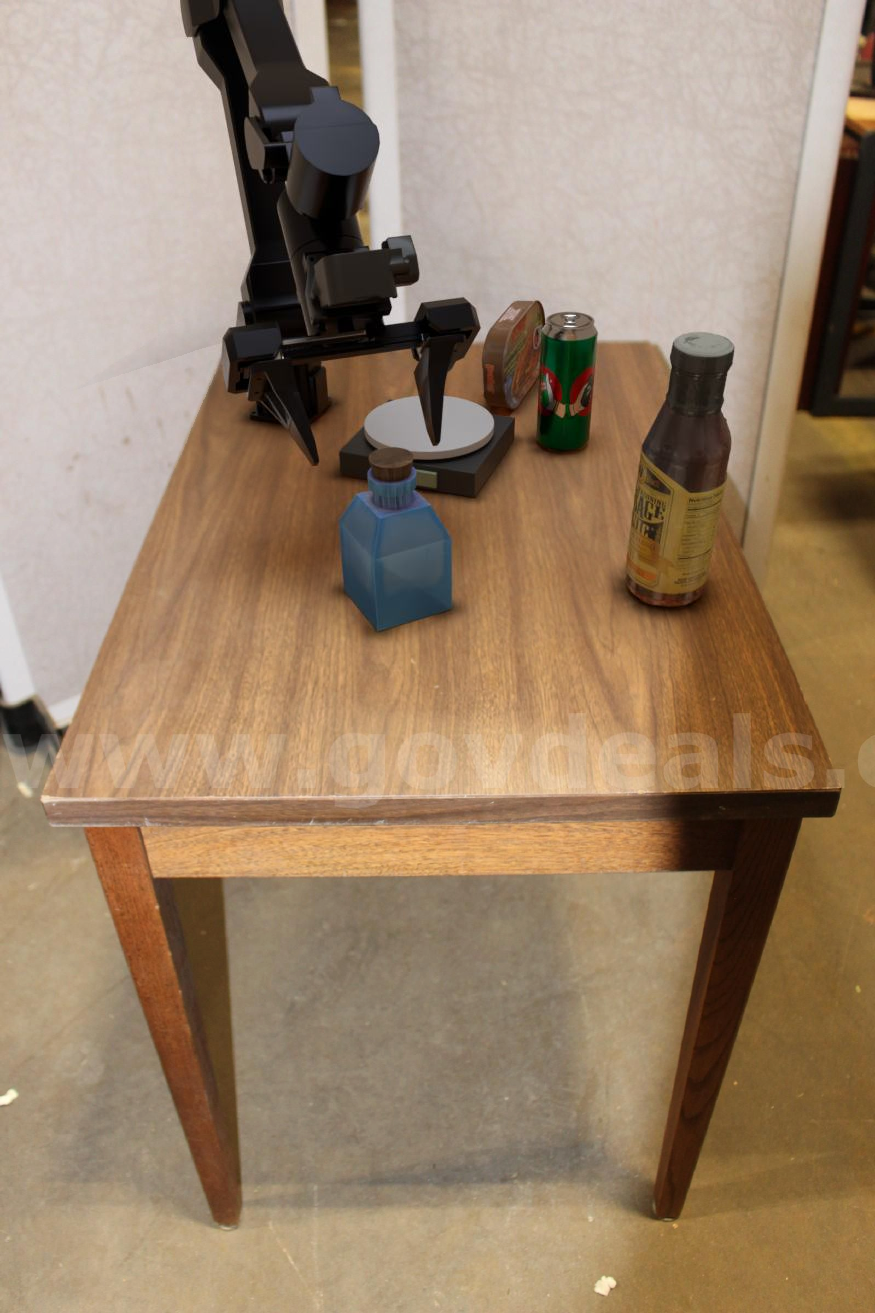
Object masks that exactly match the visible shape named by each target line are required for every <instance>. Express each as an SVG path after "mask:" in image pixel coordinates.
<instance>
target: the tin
mask: <svg viewBox="0 0 875 1313" xmlns="http://www.w3.org/2000/svg"><path fill="white" fill-rule="evenodd" d="M545 324H546V314H545V309H544V306H543V303H542V302H541V301H540V300H539V299H537V300H536V299H535V300H515V301H513V302H511V303H510V305H509V306H508V307H507V308H506V310H504V312H503V313H502V314H501V315H500V316H499V317H498V318H497V319H496V321H495V322H494V323H493V325H492V326H491V327H490V328H489V330H488V331H487V334H486V336H485V339H484V343H483V347H482V354H481V368H482V383H483V397H484V400H485V402H486V403H487V405H488V406H490V407H493V408H501V409H502V408H503V409H510V410H515V409H517V408H518V406H519V405H520V404H521V402H522V401H523V399H524V398H525V397H526V395H527V394H528V392H529V391H530V390H531V388H532V387H533V385H534V384H535V382H536V381H537V380H538V379H539V369H540V348H541V330H542V328H543V327H544V326H545Z"/></svg>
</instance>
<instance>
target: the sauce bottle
mask: <svg viewBox="0 0 875 1313" xmlns="http://www.w3.org/2000/svg"><path fill="white" fill-rule="evenodd" d="M735 349H736V348H735V344H734V343H733V342H732V341H731V339H729V338H727V337H726V336H723V335H721V334H717V333H713V332H707V331H693V332H687V333H683V334H681V335H678V336H677V337H676V338H675V339H674V340H673V342H672V346H671V351H670V355H669V360H670V361H669V362H670V367H671V369H670V374H669V380H668V387H667V392H666V393H665V400H664V402H663V403H662V406H661V407H660V409H659V410H658V413H657V415H656V416H655V419H654V421H653V422H652V424H651V426H650V428H649V430H648V432H647V434H646V436H645V438H644V440H643V442H642V443H641V448H640V454H639V462H638V470H637V477H636V484H635V490H634V498H633V506H632V512H631V522H630V530H629V536H628V542H627V543H628V545H627V552H626V559H625V570H626V576H625V581H626V588H627V589H628V590H629V591H630V593H632V594H633V596H635V597H636V598H639V600H640V601H641V602H643V603H645V604H647V605H651V606H659V607H666V608H673V607H682V606H686V605H689V604H692V603H694V602H695V601H697V600H698V599H700V597H701V595H702V594H703V590H704V587H705V583H706V582H707V579H708V577H709V573H710V572H709V571H710V567H711V566H710V565H711V562H712V556H713V551H714V547H715V546H714V545H715V540H716V535H717V531H718V526H719V520H720V515H721V510H722V505H723V500H724V495H725V490H726V484H727V479H728V472H727V470H728V467H729V466H728V465H729V460H730V455H731V451H732V444H733V443H732V433H731V429H730V428H729V424H728V420H727V417H724V414H723V412H722V408H723V405H724V403H725V397H724V395H725V394H724V393H725V390H726V383H727V378H728V372H729V371H730V369H731V367H733V364H734V356H735Z"/></svg>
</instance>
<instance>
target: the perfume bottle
mask: <svg viewBox="0 0 875 1313" xmlns="http://www.w3.org/2000/svg"><path fill="white" fill-rule="evenodd" d="M413 459H414V455H413V454H412V452H410V451H409V450H407V449H404V448H398V447H386V448H381V449H378V450H375V451H374V452H372V453H371V454H370V455H369V462H370V465H371V468H370V470H369V471H368V479H367V488H368V489H369V490H366V491H363V492H359V493H356V494H355V495H354V497H353V498H352V500H351V501H350V503H349V504H348V506H347V507H346V508H345V510H344V512H343V514H341V516H340V518H339V519H338V531H339V544H340V558H341V569H342V570H341V571H342V582H343V591H344V592H345V593H346V595H347V596H348V597H349V599H350V600H351V601H352V602H353V604H354V605H355V606H356V607H357V609H358V610H359V611H360V612H361V613H362V615H363V616H364V617H365V618H366V620H367V621H368V622H369V623H370V625H371V626H372V627H373V628H374V629H375V631H376V632H377V633H378V632H382V631H385V630H388V629H392V628H394V627H399V626H401V625H404V624H407V623H411V622H414V621H417V620H420V619H424V618H427V617H431V616H433V615H434V616H435V615H436V614H440V613H443V612H446V611H450V610H453V542H452V541H453V538H452V536H451V535H450V533H449V532H448V530H447V528H446V527H445V525H444V523H443V522H442V521H441V519H440V518H439V516H438V514H437V513H436V511H435V510H434V508H433V506H432V505H431V504H430V503H429V502H428V500H426V499H425V498H424V496H422V495H421V494H420V493H419V492H418V491H417V490H415V489H417V488H416V470H415V468H414V467H412V464H413Z"/></svg>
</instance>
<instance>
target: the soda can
mask: <svg viewBox="0 0 875 1313" xmlns="http://www.w3.org/2000/svg"><path fill="white" fill-rule="evenodd" d="M545 322H546V324H545V326H544V327H543V328H542V330H541V348H540V369H539V376H538V393H537V396H538V397H537V410H536V411H537V412H536V431H535V432H536V435H535V436H536V440H537V442H538V443H539V444H540V445H541V446H542V447H543V448H545V449H546V450H548V451H552V452H556V453H571V452H576V451H579V450H581V449H582V448H584V446H585V445H586V444H588V442H589V441H590V436H591V435H590V434H591V421H592V411H593V410H592V409H593V396H594V384H595V373H596V361H597V360H596V359H597V347H598V346H597V345H598V336H599V335H598V334H599V332H598V329H597V327H596V326H595V318H594V317H592V316H591V315H589V314H586V313H583V312H579V311H578V312H577V311H560V312H554V313H552V314H550V315H548V316H547V317H546V318H545Z"/></svg>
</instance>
